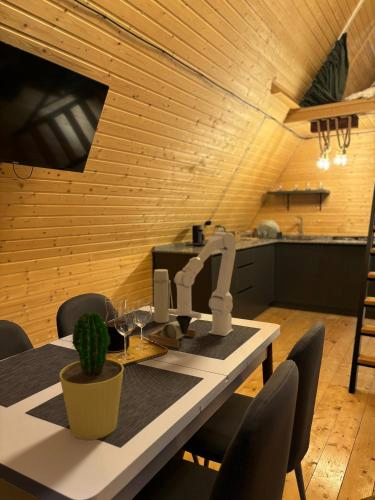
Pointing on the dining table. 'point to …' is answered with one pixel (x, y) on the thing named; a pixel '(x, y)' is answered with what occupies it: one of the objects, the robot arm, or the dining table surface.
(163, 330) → the ceramic mug
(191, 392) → the dining table surface
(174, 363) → the dining table surface
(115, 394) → the potted cactus
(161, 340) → the walnut bracket
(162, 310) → the water bottle
